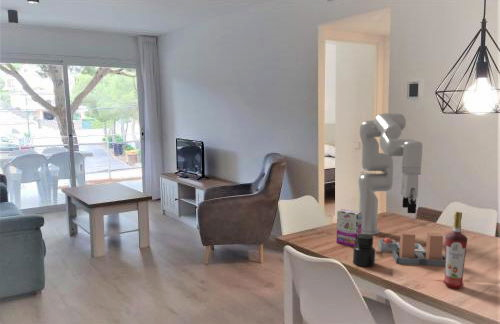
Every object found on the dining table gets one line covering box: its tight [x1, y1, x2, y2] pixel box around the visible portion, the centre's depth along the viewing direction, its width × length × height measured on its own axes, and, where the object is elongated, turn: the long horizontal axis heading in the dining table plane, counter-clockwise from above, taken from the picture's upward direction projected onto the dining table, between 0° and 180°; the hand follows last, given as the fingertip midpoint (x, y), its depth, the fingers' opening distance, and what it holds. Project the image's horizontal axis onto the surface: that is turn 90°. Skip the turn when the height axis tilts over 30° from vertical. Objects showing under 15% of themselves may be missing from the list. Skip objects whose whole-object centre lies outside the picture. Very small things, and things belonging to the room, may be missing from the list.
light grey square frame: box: [396, 242, 426, 252], centre depth 196 cm, size 11×11×2 cm
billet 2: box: [425, 231, 444, 260], centre depth 180 cm, size 5×5×12 cm
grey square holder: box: [378, 238, 398, 254], centre depth 197 cm, size 7×7×4 cm
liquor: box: [442, 211, 469, 290], centre depth 156 cm, size 7×7×28 cm
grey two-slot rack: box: [391, 250, 445, 267], centre depth 182 cm, size 21×10×3 cm, turn 82°
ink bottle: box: [352, 234, 376, 268], centre depth 180 cm, size 10×9×12 cm
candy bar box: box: [336, 209, 362, 248], centre depth 205 cm, size 11×5×16 cm, turn 47°
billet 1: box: [399, 230, 416, 258], centre depth 182 cm, size 5×5×12 cm
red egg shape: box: [384, 237, 392, 243], centre depth 197 cm, size 3×3×4 cm
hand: (408, 210), depth 180 cm, fingers open, 9 cm apart
